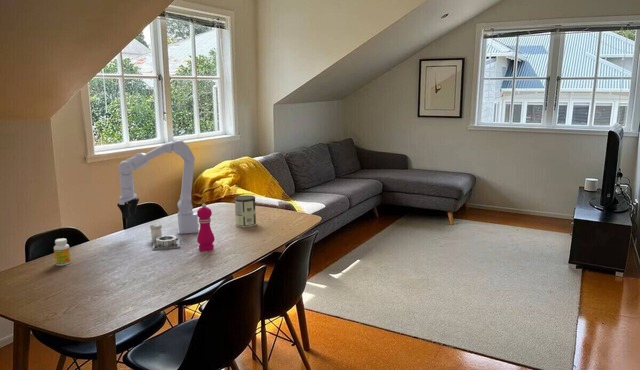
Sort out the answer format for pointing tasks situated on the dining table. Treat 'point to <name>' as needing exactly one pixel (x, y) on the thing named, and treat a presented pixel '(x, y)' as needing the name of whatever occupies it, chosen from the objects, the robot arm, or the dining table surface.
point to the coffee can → (245, 211)
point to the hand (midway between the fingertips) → (129, 216)
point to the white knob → (155, 231)
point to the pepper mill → (205, 229)
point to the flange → (166, 242)
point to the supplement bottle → (62, 252)
